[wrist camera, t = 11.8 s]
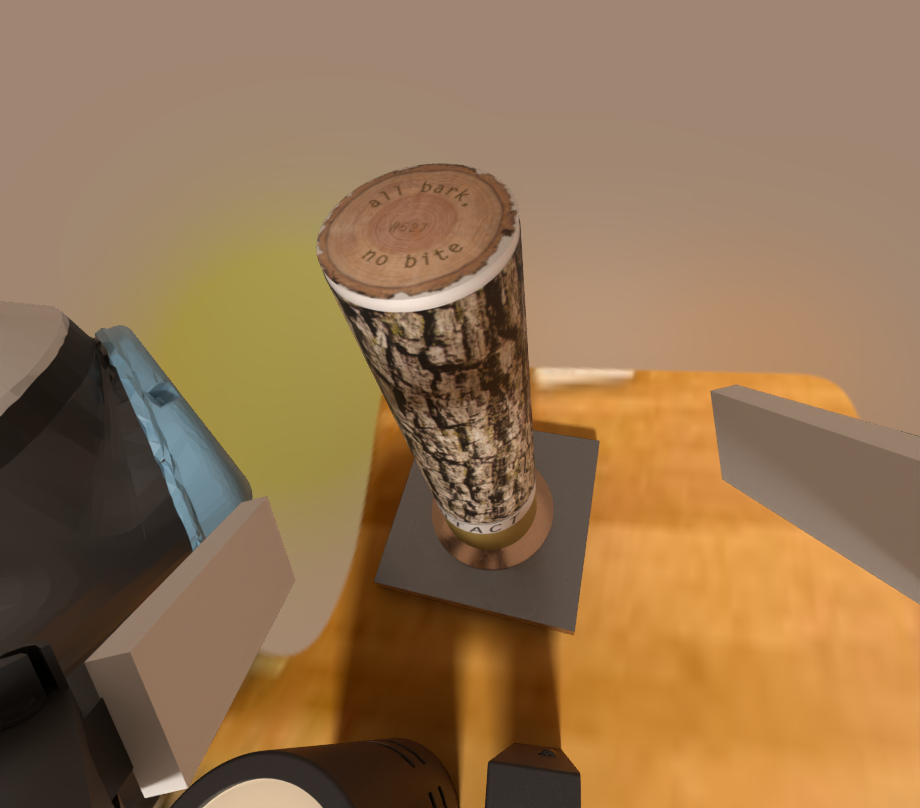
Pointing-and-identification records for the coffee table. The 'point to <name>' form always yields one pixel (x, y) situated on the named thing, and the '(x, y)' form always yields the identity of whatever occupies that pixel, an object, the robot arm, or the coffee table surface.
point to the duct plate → (508, 569)
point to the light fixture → (381, 778)
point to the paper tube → (444, 334)
